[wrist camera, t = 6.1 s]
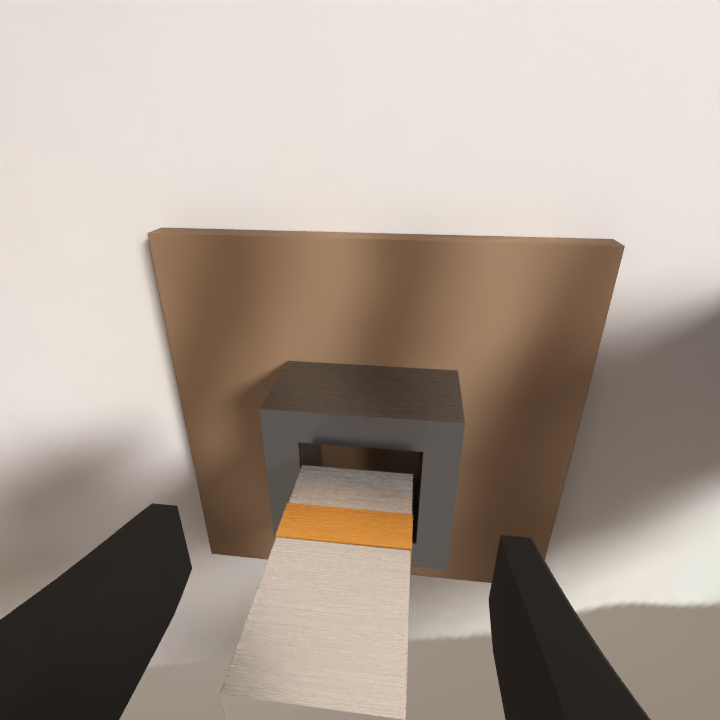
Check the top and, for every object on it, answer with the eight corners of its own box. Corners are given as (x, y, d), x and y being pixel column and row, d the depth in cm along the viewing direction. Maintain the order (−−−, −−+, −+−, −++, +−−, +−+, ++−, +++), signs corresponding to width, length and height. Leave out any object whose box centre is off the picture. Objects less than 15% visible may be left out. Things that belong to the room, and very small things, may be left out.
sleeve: (457, 370, 17) (465, 423, 14) (443, 502, 20) (447, 570, 17) (287, 360, 18) (259, 409, 15) (297, 489, 21) (275, 552, 18)
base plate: (613, 239, 16) (624, 246, 15) (533, 569, 23) (537, 587, 22) (161, 227, 17) (147, 233, 16) (219, 538, 24) (211, 553, 24)
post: (414, 473, 14) (407, 719, 8) (408, 554, 16) (399, 809, 10) (301, 464, 15) (218, 692, 9) (307, 544, 16) (239, 783, 10)
